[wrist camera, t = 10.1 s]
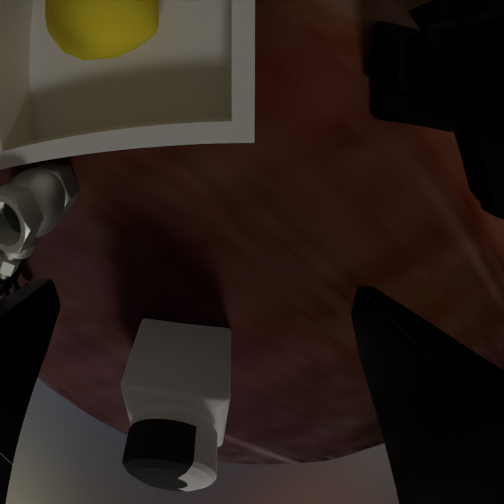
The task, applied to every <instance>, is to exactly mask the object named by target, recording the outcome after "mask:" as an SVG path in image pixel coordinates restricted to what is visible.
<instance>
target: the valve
mask: <svg viewBox="0 0 504 504" xmlns="http://www.w3.org/2000/svg"><path fill="white" fill-rule="evenodd" d="M79 192H80V189H79V187H78V184H77V182H76V179H75V177H74V174H73V171H72V169H71V167H70V166H69V165H64V164H58V163H51V162H47V163H45V164H43V165H41V166H39V167H37V168H32V169H27V170H25V171H23V172H21V173H19V174H18V175H16V176H15V177H14V178H13V179H12V180H11V181H10V183H9V184H8V183H6V184H5V185H3V186H1V187H0V300H1V299H2V298H4V297H6V296H8V295H10V294H11V293H10V291H9V290H10V288H12V290H13V293H14V292H16V291H17V290H19V289H21V288H23V287H20V286H19V284H18V282H17V279H18V277H19V275H20V272H21V270H20V268H19V267H18V266H19V264H20V261H21V259H25V258H27V257H29V256H30V255H31V254H32V253H33V251H34V249H35V246H36V244H37V242H38V237H40V236H43V235H45V234H46V233H48V232H50V231H51V230H52V229H53V228H54V227H55V226H56V225H57V223H58V222H59V220H60V219H61V217H62V215H64V214H65V213H66V212H67V211H68V210H69V208H70V207H71V205H72V203H73V202H74V200H75V199H76V197H77V195H78V194H79ZM27 285H29V284H25V286H27ZM25 286H24V287H25Z"/></svg>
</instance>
